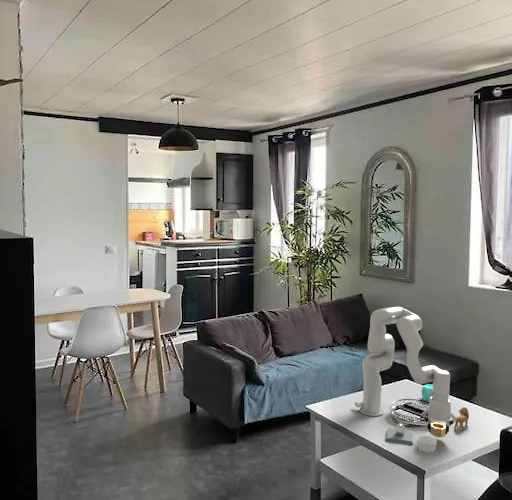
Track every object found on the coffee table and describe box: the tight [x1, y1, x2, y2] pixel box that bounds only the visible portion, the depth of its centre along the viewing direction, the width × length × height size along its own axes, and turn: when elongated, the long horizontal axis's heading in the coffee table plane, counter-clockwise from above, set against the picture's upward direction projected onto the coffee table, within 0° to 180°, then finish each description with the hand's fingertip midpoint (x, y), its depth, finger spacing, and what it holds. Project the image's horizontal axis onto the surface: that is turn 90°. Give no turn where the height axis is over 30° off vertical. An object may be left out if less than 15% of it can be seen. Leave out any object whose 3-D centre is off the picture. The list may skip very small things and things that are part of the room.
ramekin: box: [416, 435, 438, 453], centre depth 246 cm, size 9×9×4 cm
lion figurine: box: [453, 406, 470, 433], centre depth 270 cm, size 15×5×9 cm, turn 148°
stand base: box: [385, 427, 414, 445], centre depth 258 cm, size 12×12×2 cm
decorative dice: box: [421, 383, 433, 403], centre depth 308 cm, size 8×8×8 cm
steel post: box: [395, 422, 405, 436], centre depth 257 cm, size 4×4×5 cm
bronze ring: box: [429, 422, 447, 438], centre depth 255 cm, size 7×7×4 cm
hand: (437, 431), depth 256 cm, fingers closed on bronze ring, 7 cm apart
